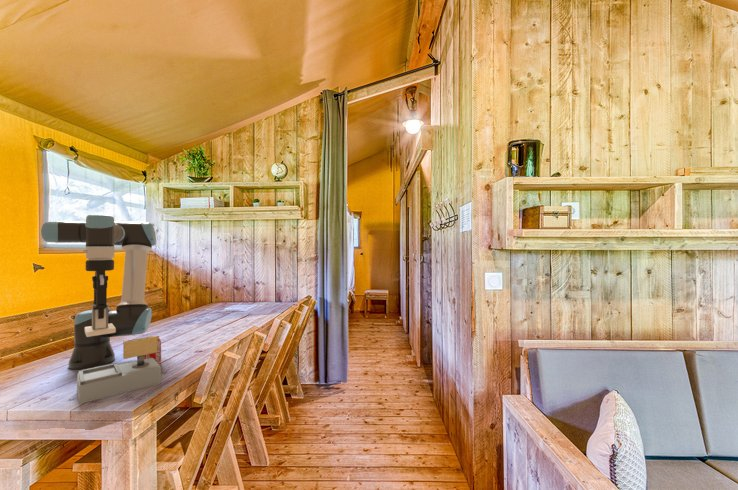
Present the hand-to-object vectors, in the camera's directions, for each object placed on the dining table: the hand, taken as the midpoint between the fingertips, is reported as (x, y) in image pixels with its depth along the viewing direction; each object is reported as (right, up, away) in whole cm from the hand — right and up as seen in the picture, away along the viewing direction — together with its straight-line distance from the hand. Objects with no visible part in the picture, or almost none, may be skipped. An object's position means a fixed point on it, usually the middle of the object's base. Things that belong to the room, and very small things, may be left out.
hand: (99, 326), depth 108 cm
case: (+4, -23, +4) cm, 23 cm away
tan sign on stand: (+8, -16, +8) cm, 20 cm away
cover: (0, -2, 0) cm, 2 cm away
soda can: (+1, -23, +23) cm, 33 cm away
